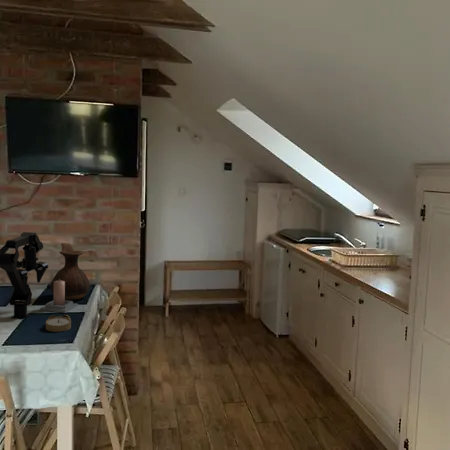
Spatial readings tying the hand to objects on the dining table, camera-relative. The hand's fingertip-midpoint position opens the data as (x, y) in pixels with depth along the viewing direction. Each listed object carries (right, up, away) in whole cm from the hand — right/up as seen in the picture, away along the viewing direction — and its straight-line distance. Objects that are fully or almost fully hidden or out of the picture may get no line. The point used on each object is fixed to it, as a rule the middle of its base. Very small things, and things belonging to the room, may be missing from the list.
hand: (31, 285), depth 260 cm
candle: (+12, -12, +6) cm, 18 cm away
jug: (+11, -11, +28) cm, 32 cm away
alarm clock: (+22, -17, -24) cm, 37 cm away
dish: (+12, -13, +6) cm, 19 cm away
